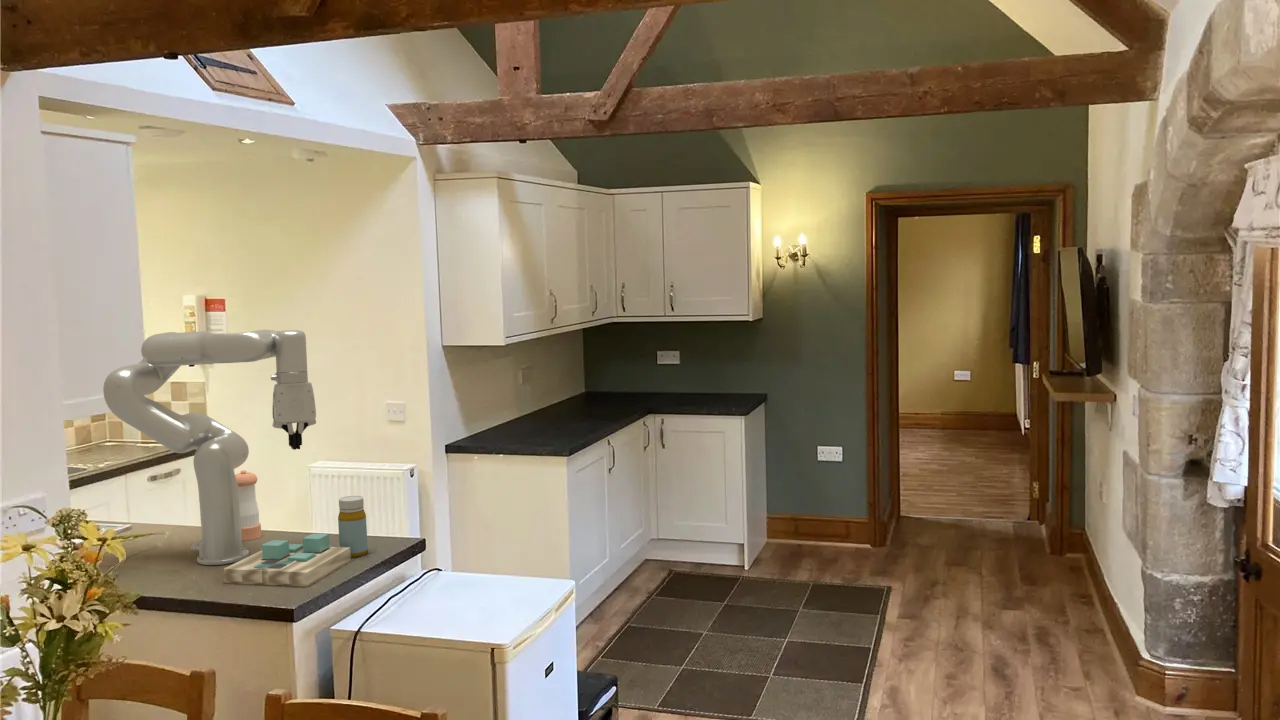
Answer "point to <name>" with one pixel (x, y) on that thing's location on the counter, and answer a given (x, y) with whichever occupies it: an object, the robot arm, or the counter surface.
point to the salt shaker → (248, 506)
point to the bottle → (353, 525)
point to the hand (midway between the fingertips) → (295, 448)
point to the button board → (287, 568)
